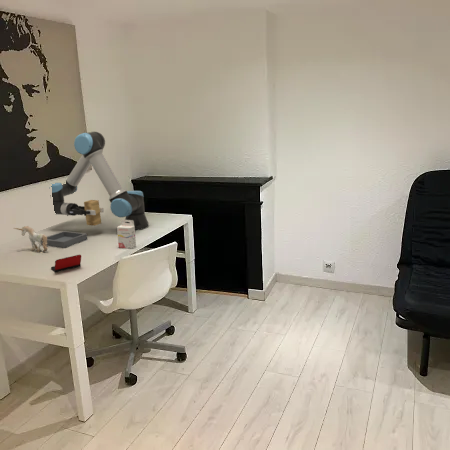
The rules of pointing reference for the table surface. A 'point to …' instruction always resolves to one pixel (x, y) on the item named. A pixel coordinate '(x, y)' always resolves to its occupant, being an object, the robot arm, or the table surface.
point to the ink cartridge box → (126, 234)
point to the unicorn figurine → (35, 238)
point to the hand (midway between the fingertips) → (99, 211)
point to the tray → (65, 239)
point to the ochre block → (95, 206)
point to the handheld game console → (67, 263)
